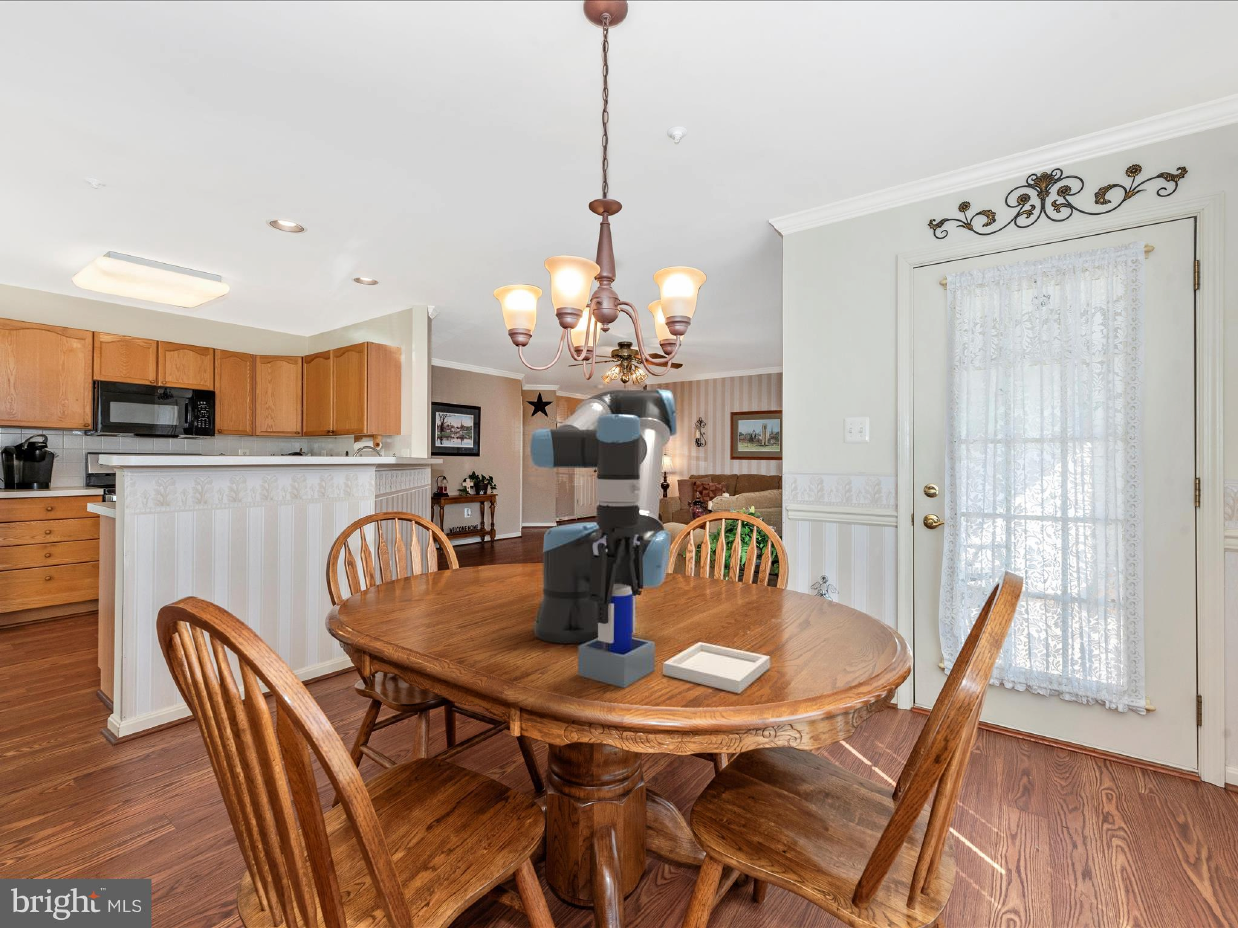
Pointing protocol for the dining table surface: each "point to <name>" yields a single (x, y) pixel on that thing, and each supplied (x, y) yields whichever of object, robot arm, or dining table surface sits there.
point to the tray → (717, 666)
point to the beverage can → (621, 620)
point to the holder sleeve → (616, 662)
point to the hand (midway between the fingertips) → (617, 635)
